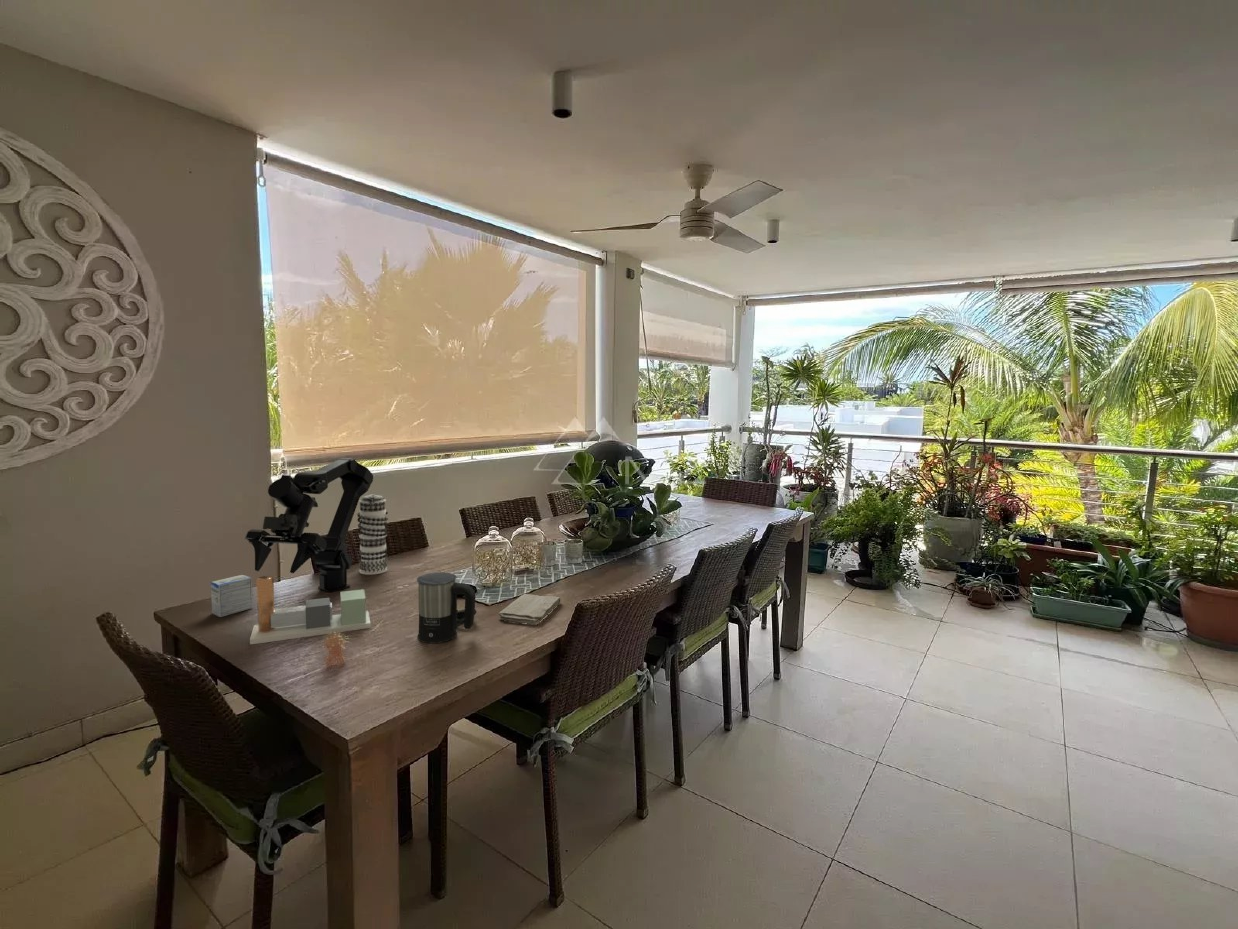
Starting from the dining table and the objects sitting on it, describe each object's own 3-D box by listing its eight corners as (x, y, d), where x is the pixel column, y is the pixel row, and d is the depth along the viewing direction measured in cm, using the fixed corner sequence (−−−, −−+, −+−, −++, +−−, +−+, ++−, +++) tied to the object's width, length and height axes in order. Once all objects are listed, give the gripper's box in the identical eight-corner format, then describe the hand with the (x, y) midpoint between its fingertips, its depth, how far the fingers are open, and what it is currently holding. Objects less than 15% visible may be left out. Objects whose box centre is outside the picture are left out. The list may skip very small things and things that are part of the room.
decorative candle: (359, 567, 190) (358, 493, 187) (389, 565, 193) (388, 493, 190) (356, 575, 181) (354, 498, 178) (387, 574, 184) (386, 498, 181)
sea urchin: (292, 668, 121) (291, 634, 120) (346, 648, 131) (345, 617, 130) (323, 685, 114) (322, 649, 113) (377, 663, 124) (376, 630, 123)
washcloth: (496, 623, 150) (496, 611, 149) (522, 600, 167) (522, 589, 167) (539, 628, 147) (539, 617, 147) (561, 604, 164) (561, 594, 164)
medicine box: (244, 605, 154) (243, 574, 153) (253, 608, 152) (251, 577, 151) (211, 614, 147) (210, 581, 146) (220, 618, 145) (218, 585, 144)
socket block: (341, 625, 140) (341, 601, 139) (340, 615, 146) (340, 591, 146) (365, 622, 143) (365, 598, 142) (364, 612, 149) (363, 589, 148)
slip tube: (257, 632, 134) (255, 581, 132) (259, 627, 137) (257, 577, 135) (332, 622, 141) (331, 574, 139) (332, 617, 144) (331, 570, 142)
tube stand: (249, 644, 131) (248, 617, 130) (254, 629, 139) (253, 603, 138) (370, 627, 142) (370, 602, 142) (368, 615, 150) (367, 591, 149)
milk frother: (415, 645, 133) (415, 584, 132) (419, 619, 149) (419, 564, 147) (477, 641, 137) (478, 581, 136) (476, 616, 152) (476, 562, 151)
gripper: (244, 499, 144) (218, 557, 136) (315, 503, 143) (292, 562, 135) (269, 518, 154) (246, 573, 146) (335, 522, 152) (315, 578, 144)
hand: (274, 571), depth 142 cm, fingers open, 9 cm apart
